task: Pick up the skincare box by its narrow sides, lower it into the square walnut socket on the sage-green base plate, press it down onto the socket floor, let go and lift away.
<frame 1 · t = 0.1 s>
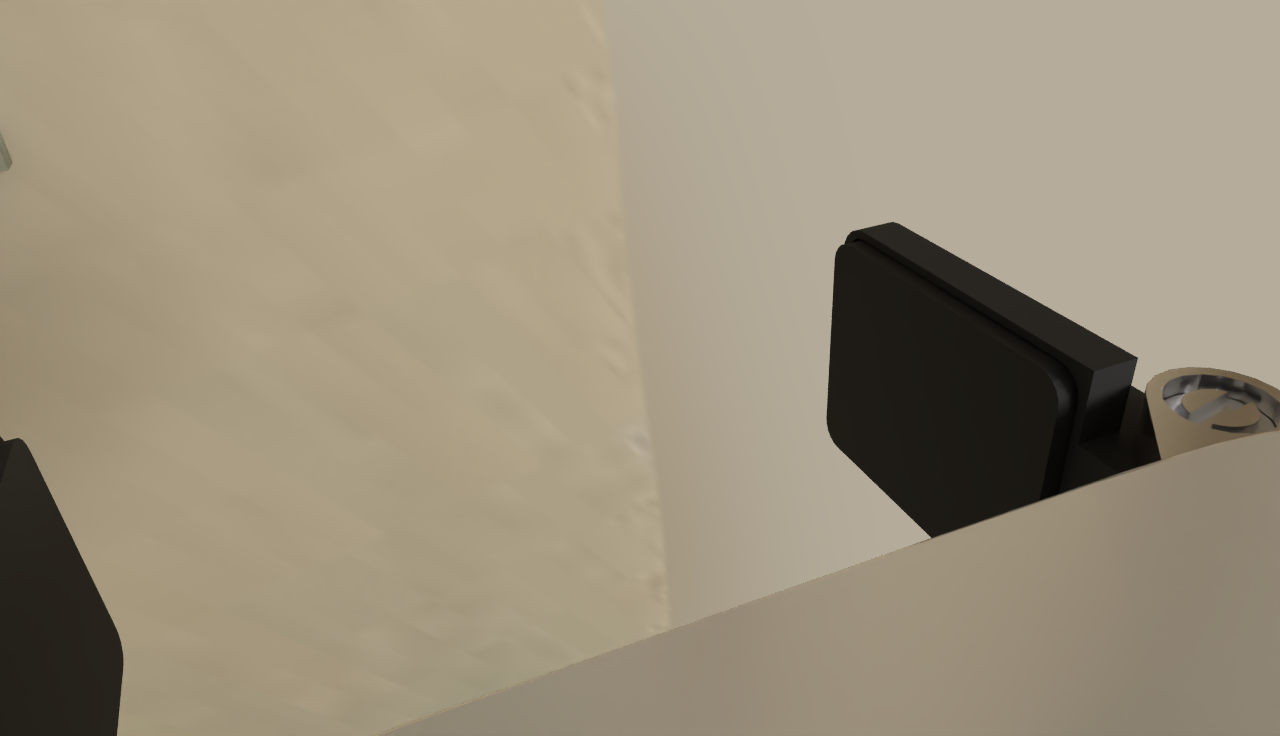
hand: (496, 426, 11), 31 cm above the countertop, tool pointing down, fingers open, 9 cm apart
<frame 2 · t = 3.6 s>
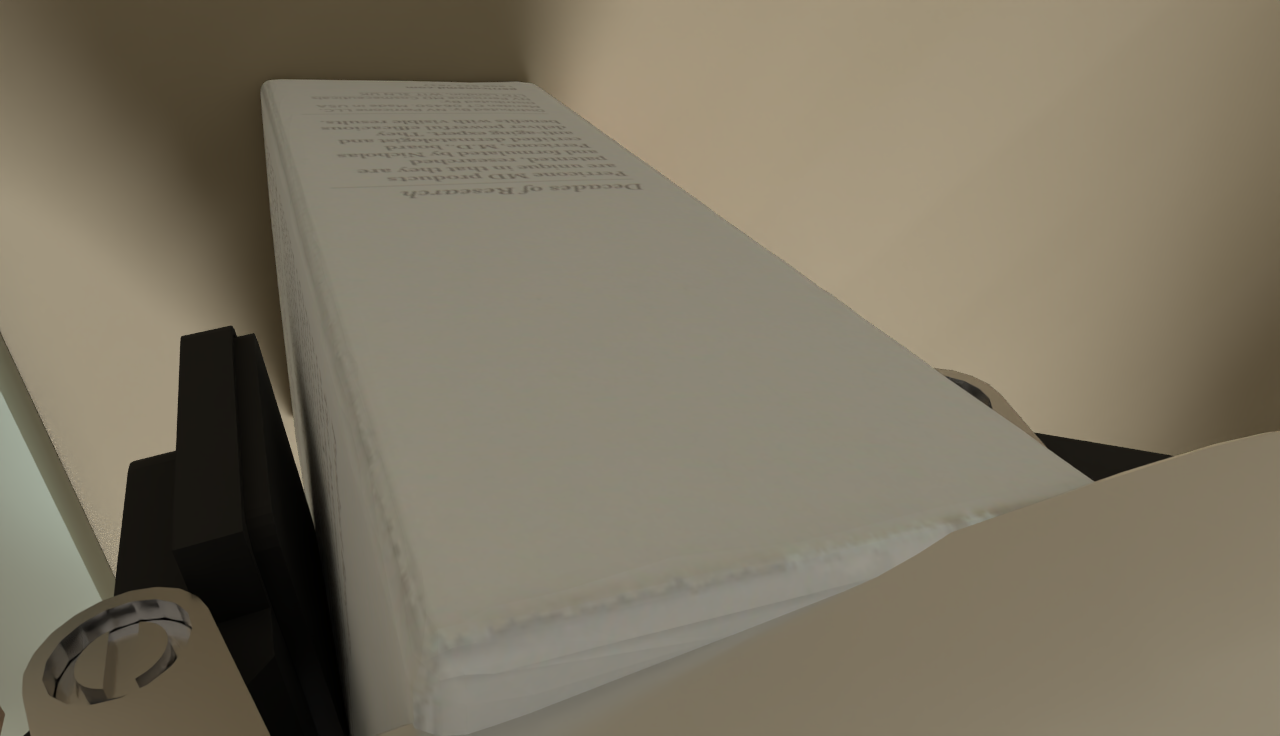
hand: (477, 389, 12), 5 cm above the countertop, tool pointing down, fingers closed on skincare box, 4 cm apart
skincare box: (410, 250, 16), on the countertop, touching gripper
when the fingers open (6 cm above the countertop, at t = 8.7 s): skincare box stays where it is, resting on socket holder.
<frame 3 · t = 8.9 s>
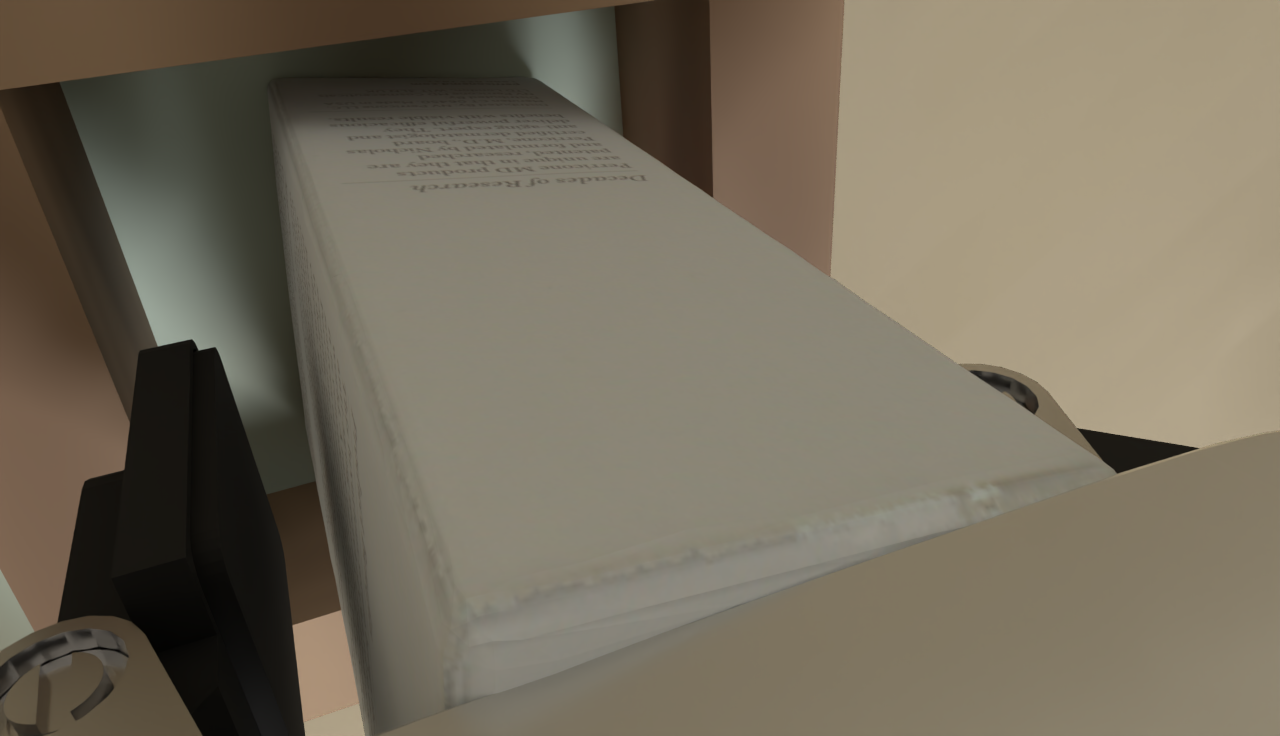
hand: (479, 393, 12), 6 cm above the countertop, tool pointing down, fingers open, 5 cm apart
socket holder: (393, 229, 16), on the countertop
skincare box: (416, 245, 16), point 1 cm above the countertop, touching socket holder
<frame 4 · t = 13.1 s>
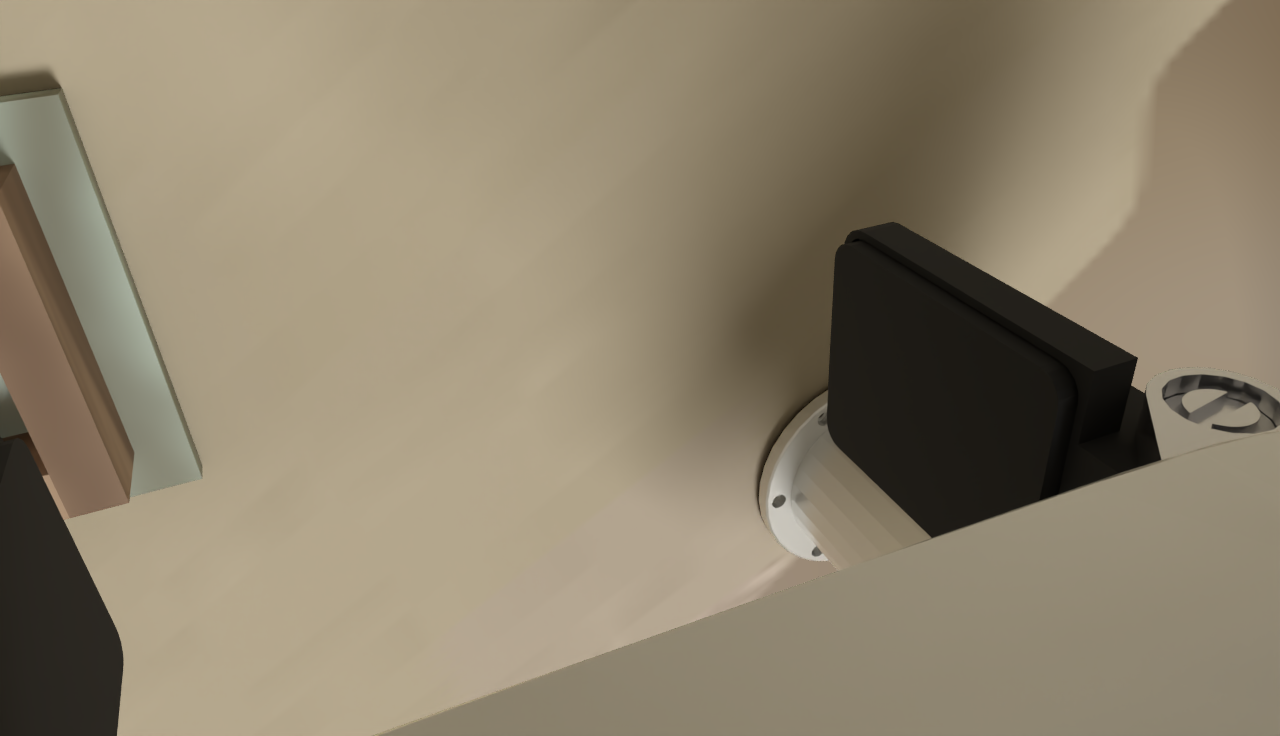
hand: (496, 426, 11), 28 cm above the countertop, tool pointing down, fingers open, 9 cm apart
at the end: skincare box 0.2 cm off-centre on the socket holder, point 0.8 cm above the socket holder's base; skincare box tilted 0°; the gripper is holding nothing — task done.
